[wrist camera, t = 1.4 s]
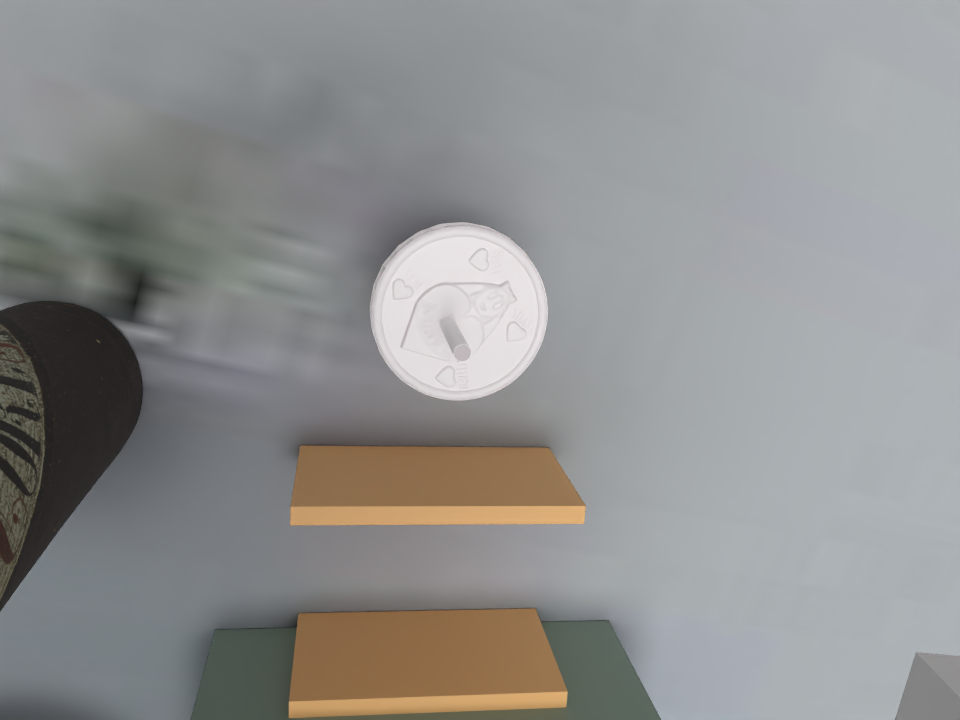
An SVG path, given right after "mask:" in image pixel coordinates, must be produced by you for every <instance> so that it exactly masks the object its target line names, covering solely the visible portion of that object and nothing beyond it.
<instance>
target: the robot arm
mask: <svg viewBox="0 0 960 720" xmlns="http://www.w3.org/2000/svg"><path fill="white" fill-rule="evenodd" d="M895 720H960V656H952V655H941V654H931V653H920V652H916V654H915V657H914V660H913V664H912V667H911V670H910V673H909V676H908V680H907V683H906V686H905V689H904V692H903V696H902V699H901V702H900V705H899V708H898V712H897V715H896V718H895Z"/></svg>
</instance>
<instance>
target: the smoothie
mask: <svg viewBox="0 0 960 720" xmlns="http://www.w3.org/2000/svg"><path fill="white" fill-rule="evenodd" d="M369 310H370V320H371V330H372V333H373V336H374V338H375V341H376V344H377V346H378V349H379V351H380V353H381V355H382V357H383V359H384V360H385V362H386V364H387V365H388V366H389V368H390V369H391V370H392V371H393V372H394V373H395V374H396V376H397V377H399V378H400V379H401V380H402V381H403V382H404V383H406V384H407V385H409V386H410V387H412V388H413V389H415V390H417V391H419V392H421V393H423V394H426V395H429V396H431V397H435V398H439V399H445V400H457V401H459V400H471V399H476V398H480V397H484V396H487V395H490V394H492V393H495V392H497V391H499V390H501V389H502V388H504V387H506V386H507V385H509V384H510V383H512V382H513V381H514V380H515V379H517V378H518V377H519V376H520V375H521V374H522V373H523V372H524V371H525V370H526V369H527V367H528V366H529V365H530V364H531V362H532V361H533V359H534V358H535V356H536V354H537V352H538V351H539V349H540V346H541V344H542V341H543V338H544V335H545V331H546V326H547V319H548V304H547V297H546V291H545V288H544V285H543V282H542V279H541V277H540V275H539V273H538V271H537V269H536V267H535V266H534V264H533V263H532V261H531V260H530V259H529V257H528V256H527V254H526V252H525V251H524V250H522V249H521V248H520V247H519V246H518V245H517V244H516V243H515V242H514V241H512V240H511V239H510V238H509V237H508V236H506V235H504V234H502V233H500V232H498V231H496V230H494V229H492V228H490V227H488V226H483V225H478V224H473V223H468V222H456V223H443V224H438V225H436V226H433V227H430V228H427V229H424V230H421V231H418V232H417V233H416V234H414V235H413V236H411V237H410V238H408V239H407V240H405V241H404V242H402V243H401V244H400V245H398V246H397V248H396V249H395V250H394V251H393V252H392V254H391V255H390V256H389V257H388V258H387V259H386V261H385V262H384V263H383V265H382V267H381V269H380V271H379V273H378V276H377V278H376V280H375V282H374V284H373V289H372V295H371V300H370V306H369Z"/></svg>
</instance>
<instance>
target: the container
mask: <svg viewBox="0 0 960 720" xmlns="http://www.w3.org/2000/svg"><path fill="white" fill-rule="evenodd" d="M141 404H142V380H141V374H140V370H139V366H138V363H137V360H136V358H135V355H134V353H133V351H132V349H131V347H130V346H129V344H128V343H127V341H126V340H125V338H124V337H123V336H122V334H121V333H120V332H119V331H118V330H117V329H116V328H115V327H114V326H113V325H112V324H111V323H110V322H108V321H107V320H106V319H104V318H103V317H101V316H99V315H98V314H96V313H94V312H92V311H90V310H88V309H85V308H82V307H79V306H76V305H74V304H67V303H58V302H30V303H24V304H20V305H16V306H13V307H10V308H7V309H4V310H1V311H0V611H1V610H2V608H3V607H4V605H5V604H6V603H7V601H8V600H9V599H10V597H11V596H12V594H13V593H14V591H15V590H16V589H17V587H18V586H19V584H20V583H21V582H22V580H23V579H24V578H25V576H26V575H27V573H28V572H29V571H30V570H31V568H32V567H33V566H34V564H35V563H36V561H37V560H38V559H39V557H40V556H41V555H42V553H43V552H44V550H45V549H46V548H47V546H48V545H49V543H50V542H51V541H52V539H53V538H54V537H55V535H56V534H57V532H58V531H59V530H60V528H61V527H62V525H63V524H64V523H65V522H66V520H67V519H68V518H69V516H70V515H71V514H72V513H73V511H74V510H75V509H76V507H77V506H78V505H79V503H80V502H81V501H82V499H83V498H84V497H85V496H86V494H87V493H88V492H89V490H90V489H91V488H92V487H93V485H94V484H95V483H96V481H97V480H98V479H99V478H100V476H101V475H102V474H103V472H104V471H105V470H106V469H107V468H108V466H109V465H110V464H111V463H112V461H113V460H114V459H115V458H116V456H117V455H118V454H119V452H120V451H121V449H122V448H123V446H124V444H125V443H126V441H127V440H128V438H129V436H130V435H131V433H132V431H133V429H134V427H135V425H136V423H137V420H138V417H139V414H140V410H141Z"/></svg>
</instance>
